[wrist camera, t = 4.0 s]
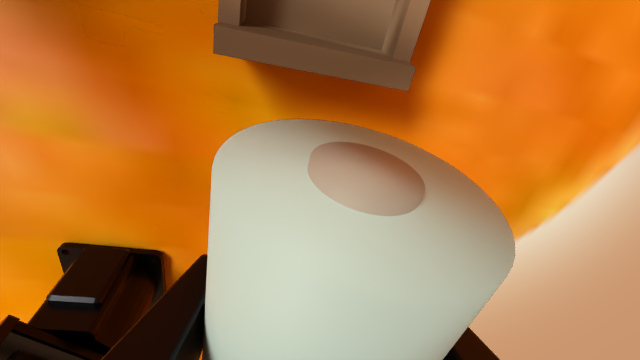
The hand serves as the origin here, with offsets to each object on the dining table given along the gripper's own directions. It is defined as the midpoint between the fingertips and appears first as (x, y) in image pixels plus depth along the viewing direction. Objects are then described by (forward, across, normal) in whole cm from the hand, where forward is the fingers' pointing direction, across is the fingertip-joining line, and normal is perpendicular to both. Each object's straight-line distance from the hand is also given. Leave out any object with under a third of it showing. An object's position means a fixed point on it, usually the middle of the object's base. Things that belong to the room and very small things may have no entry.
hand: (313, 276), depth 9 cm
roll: (+1, 0, 0) cm, 1 cm away
